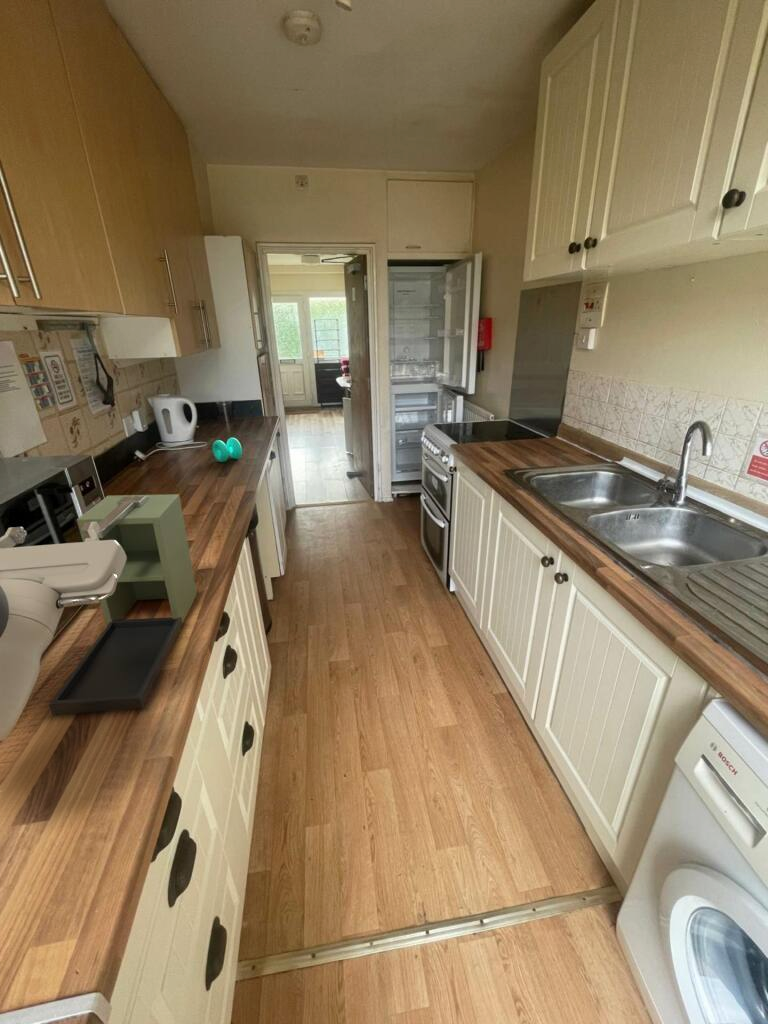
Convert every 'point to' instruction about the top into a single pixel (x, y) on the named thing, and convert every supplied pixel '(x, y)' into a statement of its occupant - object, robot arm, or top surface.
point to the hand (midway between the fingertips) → (56, 527)
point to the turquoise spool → (227, 449)
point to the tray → (119, 667)
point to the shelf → (148, 555)
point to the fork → (120, 513)
